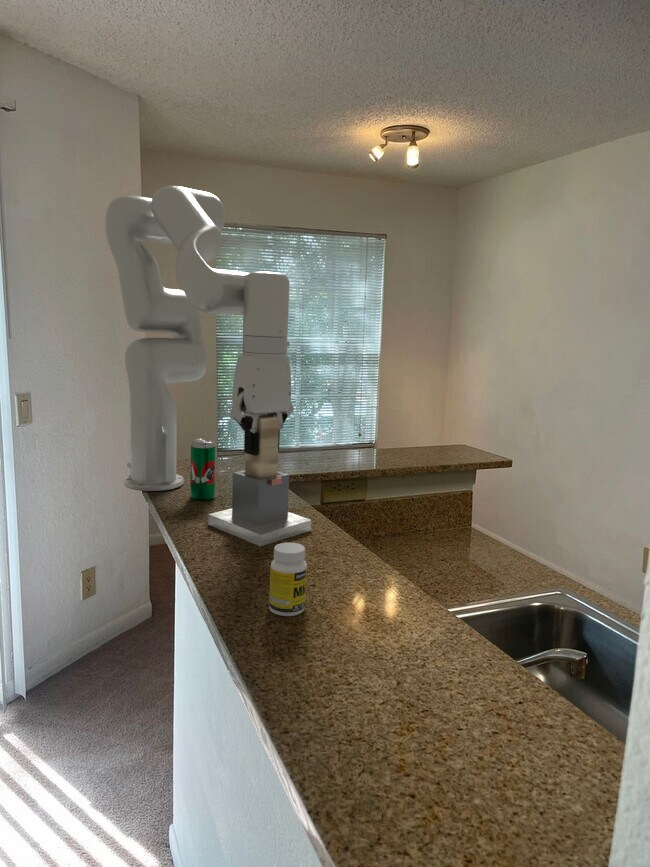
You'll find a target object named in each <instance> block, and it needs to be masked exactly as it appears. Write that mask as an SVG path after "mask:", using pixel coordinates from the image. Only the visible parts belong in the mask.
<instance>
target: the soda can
mask: <svg viewBox="0 0 650 867" xmlns="http://www.w3.org/2000/svg"><path fill="white" fill-rule="evenodd" d="M189 463H190V464H189V466H190V474H189V477H190V478H189V480H190V481H189V482H190V484H189V485H190V486H189V488H190V489H189V491H190V492H189V494H190V495H189V497H190V498H192V500H194V501H197V500H198V502H208V501H212V500H213V499H214V498H215V497H216V490H217V489H216V486H217V485H216V478H217V477H216V476H217V473H216V472H217V445H216V443H215V440H214V439H212V438H211V439H209V438H196V439H193V440H192V443H191V445H190V462H189Z"/></svg>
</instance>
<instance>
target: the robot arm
mask: <svg viewBox="0 0 650 867" xmlns="http://www.w3.org/2000/svg"><path fill="white" fill-rule="evenodd" d="M104 221H105V222H104V224H105V228H104V229H105V235H106V241H107V242H108V247H109V249H110V252H111V254H112V257H113V259H114V262H115V266H116V269H117V272H118V273H117V274H118V278H119V279H118V281H119V286H120V291H121V298H122V304H123V310H124V315H125V319H126V322H127V324H128V326H129V327H130V329H131V330H133V331H136V332H138V333H147V334H148V333H150V334H152V333H153V334H154V333H155V334H172V337H143V338H138V339H135V340H134V341H132V342H131V343H129V345H128V346H127V347H126V349H125V352H124V364H125V369H126V376H127V380H128V387H129V403H130V405H129V407H130V408H129V410H130V461H129V462H127V463H126V467H127V468H128V469H129V470H130V475H128V476H125V478H124V479H123V485H124V487H126V488H127V489H131V490H134V491H140V492H141V491H142V492H161V491H168V490H174V489H177V488H179V487H182V486H183V485H184V482H185V481H184V477H183V476H182V475H180V474H178V473H177V436H178V435H177V434H178V433H177V429H178V428H177V426H178V425H177V424H178V423H177V420H178V417H177V416H178V415H177V414H178V413H177V408H178V407H177V402H176V399H175V397H174V395H173V394H172V391H171V390H170V388H169V387H168V385H167V384H170V383H190V382H195V381H199V380H200V379H201V378H203V377H204V375H205V373H206V371H207V368H208V367H207V366H208V354H207V348H206V341H205V336H204V335H205V334H204V330H203V323H202V322H203V321H202V317H201V312H203V313H205V314H211V315H234V316H241V317H243V324H242V328H243V329H242V330H243V331H242V354H238V357H237V360H236V364H235V369H234V373H233V374H234V376H233V384H232V394H231V395H232V396H231V409H230V411H229V413H228V415H229V417H230V419H232V420H234V421H235V422H236V423H237V424H238V425H239V426H240V428H241V430H242V431H243V432H244V441H243V442H244V443H243V451H244V453H245V454H246V453H247V454H250V455H254V456H256V455H258V454H259V433H258V432H256V431H257V426H258V421H259V415H261V414H266V415H271V416H276V417H279V437H278V453H279V452H280V436H281V431H282V429H283V427H284V423H285V422H286V421H287V419H288V417H289V416H290V415H291V414H292V413H294V410H295V407H294V405H293V402H292V374H291V373H292V372H291V363H290V358H289V357H290V356H289V355H288V349H289V348H290V345H291V344H290V341H289V340H288V334H289V308H290V307H289V305H290V304H289V302H290V280H289V278H288V276H287V275H286V274H283V273H281V272H277V271H250V272H248V271H247V272H246V271H239V270H232V269H223V268H212V267H210V266H209V265H208V263H209V262H212V260H214V259H215V257H217V255H218V254H219V253H220V251H221V248H222V245H223V235H222V233H221V232H222V231H223V228H224V227H225V224H226V210H225V206H224V204H223V203H222V200H220V199H219V197H218V196H216V195H214V194H213V193H211V192H208V191H203V190H198V189H193V188H190V187H189V188H188V187H184V186H179V185H166V186H163V187H161V188H159V189H157V191H155V192H154V194H153V195H152V197H146V196H145V197H144V196H139V195H121V196H117V197H116V198H114V199H113V200H112V201H110V203H109V204H108V207H107V209H106V214H105V220H104ZM144 241H145V242H152V243H159V244H160V243H161V244H167V245H173V246H174V248H176V250H177V253H176V257H175V274H176V280H177V282H178V286H180V289H176V288H166V287H165V286H164V285H163V281H162V277H161V276H162V275H161V269H160V267H159V266H160V265H159V263H158V262H157V260H156V258H155V257H154V255H153V253H152V252H151V251H150V250H149V249H148V248H147V247H146V245H145V244H144ZM250 417H252V418H251V422H250Z"/></svg>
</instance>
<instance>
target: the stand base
mask: <svg viewBox="0 0 650 867" xmlns="http://www.w3.org/2000/svg"><path fill="white" fill-rule="evenodd" d="M289 486H290V474H288V473H285V472H282V471H279V470H277V475H275V476H270V477H265V478H261V479H259V478H256V477H253V476H250V475H246V474H245V469H244V470H238V471H235V472H232V493H231V494H232V502H231V505H232V506H231V508H228V509H224V510H219V511H216V512H212V513H209V514H208V526H210V527H213V528H215V529H218V530H220V531H223V532H225V533H227V534H229V535H232V536H235V537H237V538H240V539H242V540H244V541H246V542H249V543H251V544H253V545H256V546H258V547H263V546H266V545H269V544H273V543H275V542H280V541H282V540H286V539H288V538H292V537H294V536H297V535H301V534H304V533H309V532H311V531H312V519H310V518H307V517H304V516H301V515H298V514H295V513H292V512H290V511H289V492H290V491H289V489H290V487H289Z"/></svg>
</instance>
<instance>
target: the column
mask: <svg viewBox="0 0 650 867" xmlns="http://www.w3.org/2000/svg"><path fill="white" fill-rule="evenodd" d="M251 418H252V417H250V422H251ZM256 432H258V433H259V454H258V455H256V456H254V455H250V454H247V453H245V457H244V458H245V461H244V462H245V464H244V470H245V474H246V475H250V476H253V477H256V478H259V479H261V478H265V477H270V476H275V475H277V471H278V465H279V464H278V463H279V462H278V461H279V460H278V459H279V457H278V456H279V452H278V437H279V417H276V416H271V415H267V414H261V415H259V421H258V426H257V431H256Z"/></svg>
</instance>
